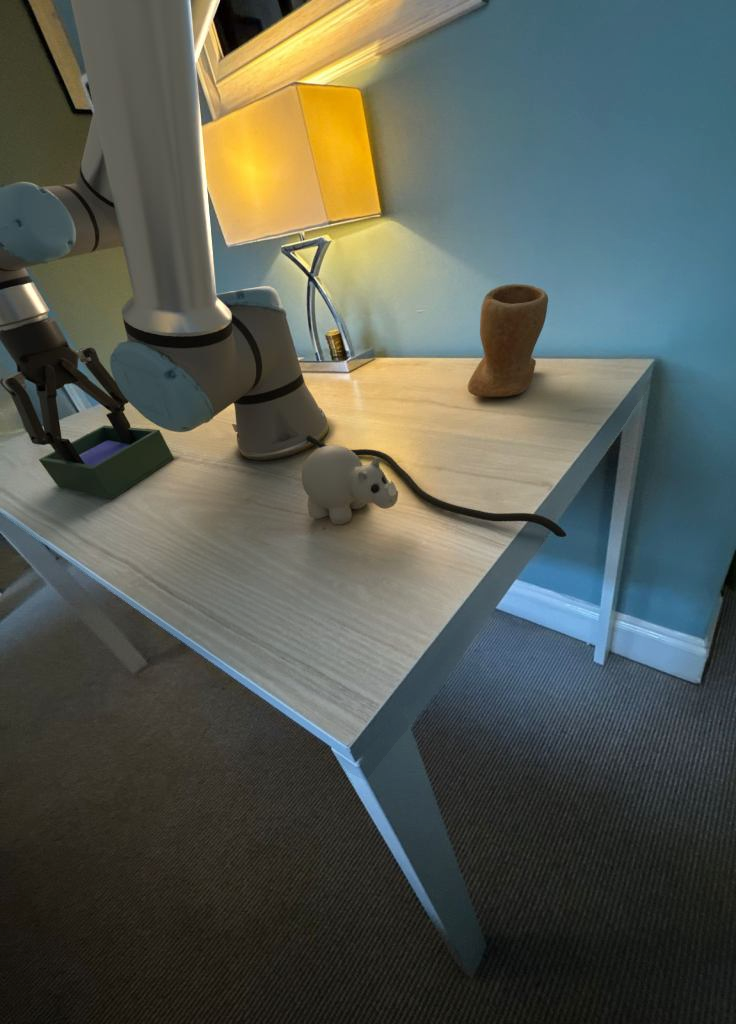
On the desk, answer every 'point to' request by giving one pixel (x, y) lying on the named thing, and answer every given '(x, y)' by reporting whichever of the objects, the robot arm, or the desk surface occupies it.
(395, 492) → the chubby cartoon animal
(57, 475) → the tub
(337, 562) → the desk surface
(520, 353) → the brown clay boot vase
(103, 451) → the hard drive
